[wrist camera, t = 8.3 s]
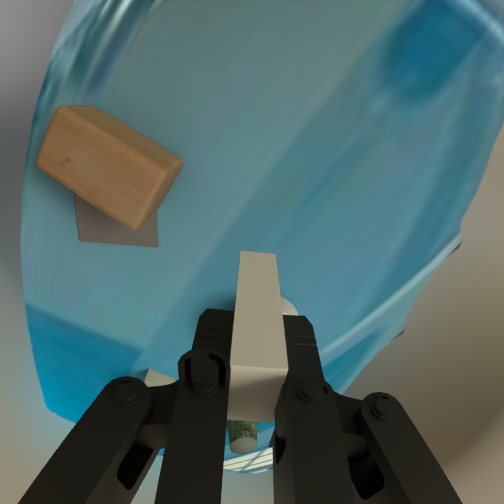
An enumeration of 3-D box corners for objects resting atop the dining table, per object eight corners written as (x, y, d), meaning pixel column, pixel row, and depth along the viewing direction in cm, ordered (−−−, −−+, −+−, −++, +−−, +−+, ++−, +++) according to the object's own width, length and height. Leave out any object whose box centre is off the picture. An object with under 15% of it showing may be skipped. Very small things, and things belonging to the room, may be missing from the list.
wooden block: (135, 236, 38) (32, 166, 34) (156, 212, 47) (66, 154, 43) (169, 173, 35) (55, 103, 30) (187, 160, 44) (90, 102, 39)
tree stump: (180, 398, 69) (176, 449, 52) (234, 353, 68) (242, 404, 51) (230, 429, 74) (236, 477, 57) (284, 391, 73) (301, 439, 56)
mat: (72, 155, 43) (71, 155, 43) (155, 153, 43) (155, 153, 43) (80, 240, 50) (80, 240, 50) (157, 246, 50) (157, 247, 50)
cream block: (149, 368, 64) (138, 400, 55) (175, 379, 65) (167, 412, 56) (145, 376, 66) (135, 408, 56) (171, 387, 67) (163, 419, 58)
